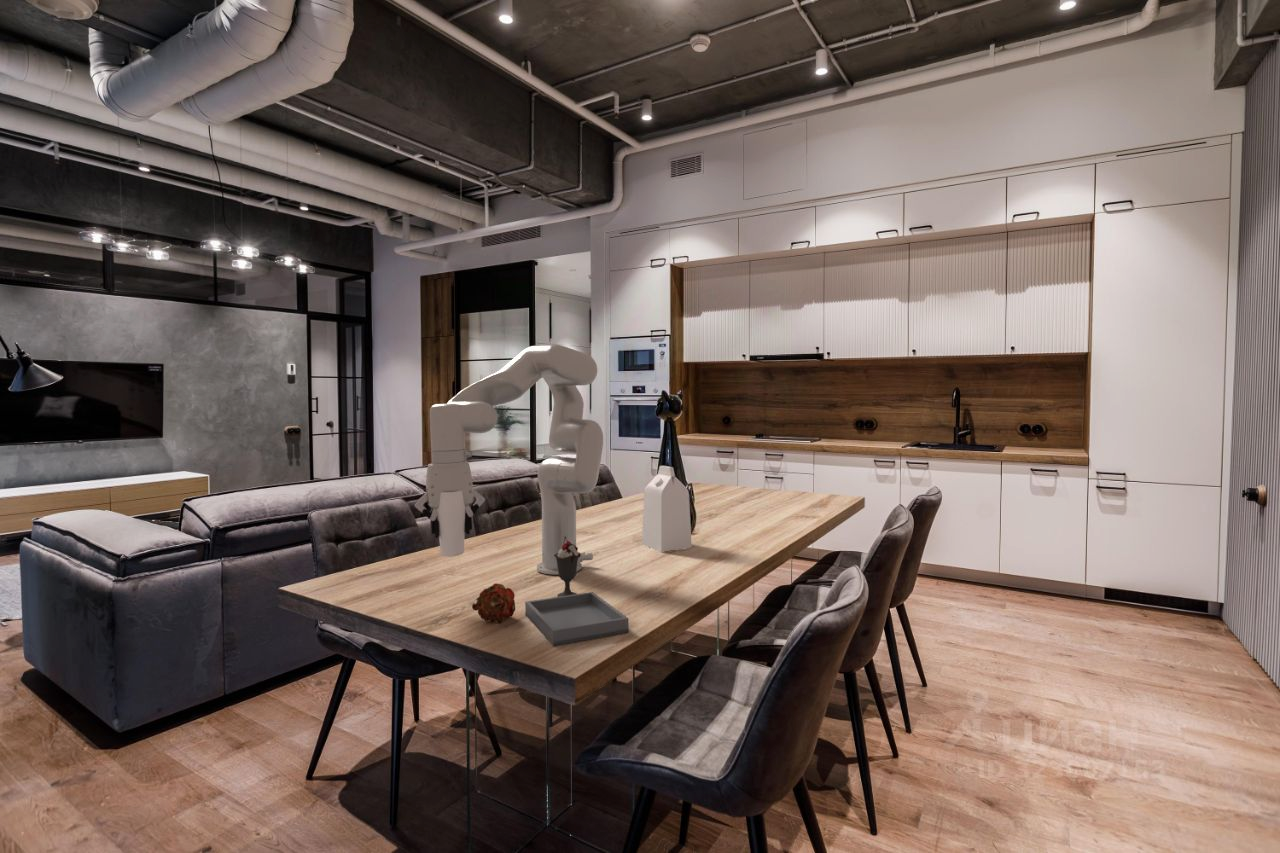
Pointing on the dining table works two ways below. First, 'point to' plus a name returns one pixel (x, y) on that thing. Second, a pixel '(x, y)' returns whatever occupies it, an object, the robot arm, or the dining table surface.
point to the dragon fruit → (495, 603)
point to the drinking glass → (451, 523)
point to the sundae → (567, 565)
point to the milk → (666, 513)
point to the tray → (575, 618)
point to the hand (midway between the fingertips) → (451, 534)
